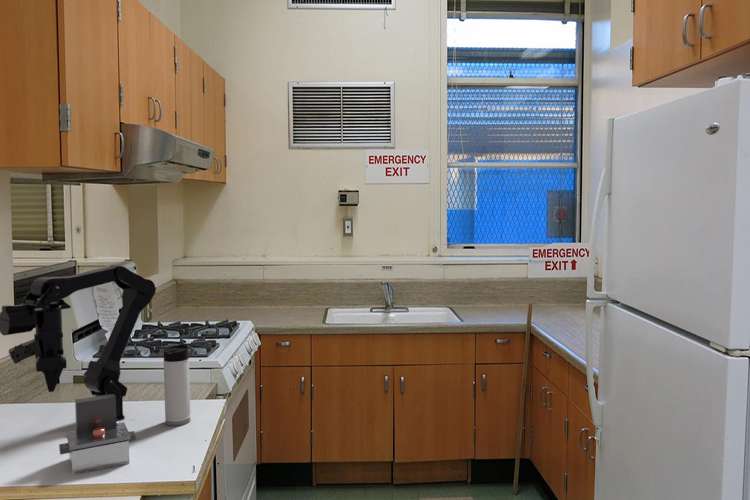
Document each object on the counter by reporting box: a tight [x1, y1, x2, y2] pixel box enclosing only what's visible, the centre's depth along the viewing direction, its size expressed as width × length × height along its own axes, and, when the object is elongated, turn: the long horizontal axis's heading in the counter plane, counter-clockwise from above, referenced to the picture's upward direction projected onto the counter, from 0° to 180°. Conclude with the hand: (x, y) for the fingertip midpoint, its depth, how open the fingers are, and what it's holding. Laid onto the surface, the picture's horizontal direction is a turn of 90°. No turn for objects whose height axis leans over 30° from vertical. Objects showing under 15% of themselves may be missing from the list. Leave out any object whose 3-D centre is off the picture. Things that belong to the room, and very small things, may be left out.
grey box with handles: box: [58, 430, 137, 476], centre depth 128 cm, size 10×15×5 cm, turn 121°
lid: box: [66, 394, 131, 451], centre depth 128 cm, size 10×12×8 cm
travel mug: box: [163, 343, 191, 427], centre depth 153 cm, size 6×7×20 cm
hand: (51, 391), depth 143 cm, fingers closed
